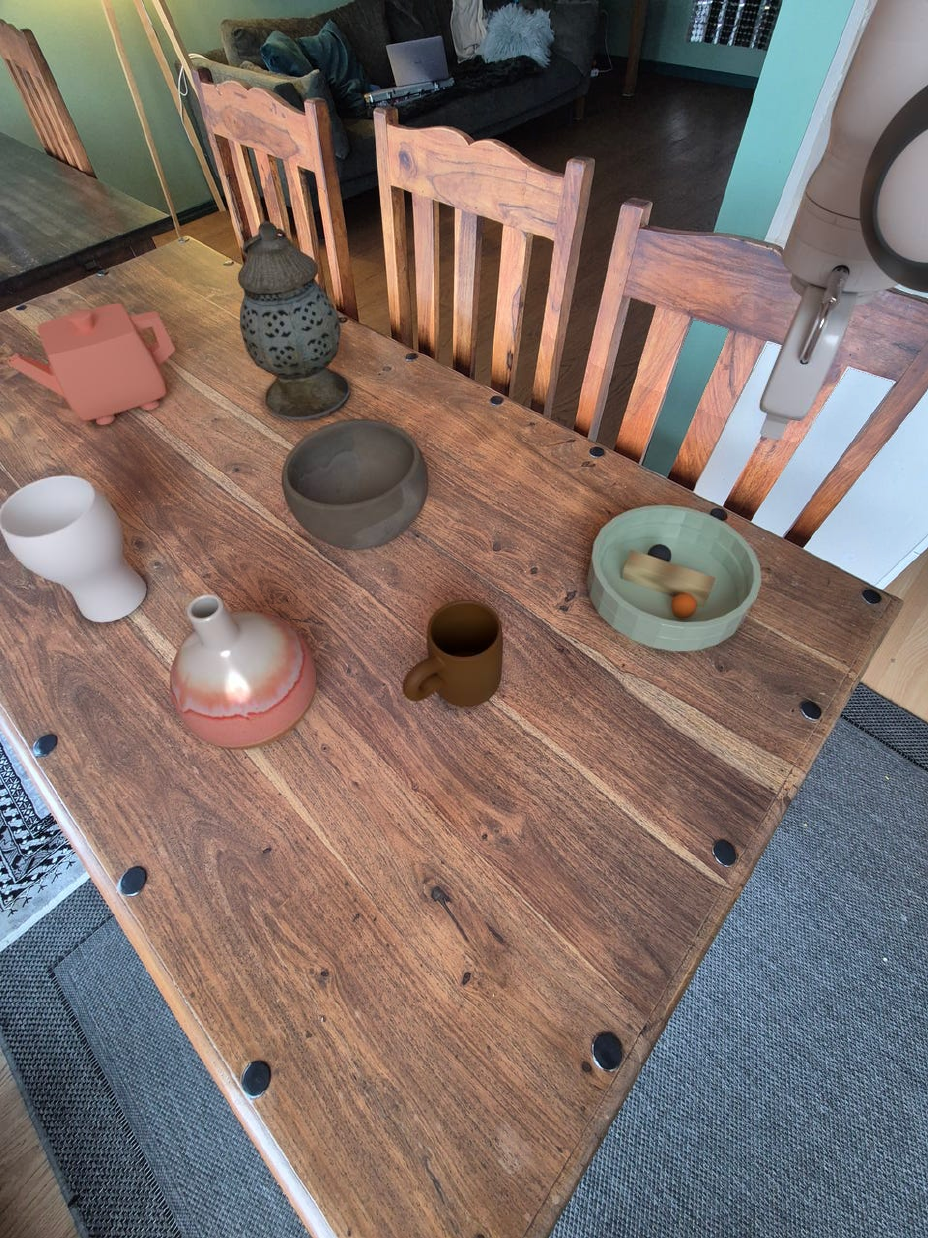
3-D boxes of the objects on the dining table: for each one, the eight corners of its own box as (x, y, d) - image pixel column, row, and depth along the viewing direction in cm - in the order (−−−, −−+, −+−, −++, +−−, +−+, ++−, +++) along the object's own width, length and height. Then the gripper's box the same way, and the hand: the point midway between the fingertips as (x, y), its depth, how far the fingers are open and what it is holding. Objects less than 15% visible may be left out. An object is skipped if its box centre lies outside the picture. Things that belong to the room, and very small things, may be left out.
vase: (312, 640, 73) (271, 530, 59) (340, 743, 65) (300, 644, 51) (189, 677, 70) (116, 571, 56) (204, 788, 62) (123, 698, 48)
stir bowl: (761, 563, 78) (776, 534, 74) (723, 679, 69) (738, 653, 65) (617, 516, 84) (623, 487, 80) (562, 617, 74) (567, 589, 70)
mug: (437, 752, 64) (430, 706, 57) (386, 706, 68) (374, 657, 60) (515, 678, 69) (519, 626, 62) (465, 638, 73) (463, 585, 65)
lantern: (255, 421, 98) (197, 248, 78) (271, 370, 107) (223, 201, 87) (346, 419, 98) (311, 245, 78) (355, 367, 106) (325, 198, 87)
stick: (708, 592, 75) (715, 577, 73) (703, 607, 74) (710, 591, 72) (627, 565, 78) (631, 549, 76) (620, 578, 77) (624, 562, 74)
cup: (72, 574, 80) (0, 481, 68) (160, 557, 81) (104, 463, 69) (62, 641, 74) (-19, 551, 62) (157, 621, 75) (96, 530, 63)
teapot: (54, 446, 96) (-3, 358, 84) (41, 403, 102) (-14, 317, 91) (198, 399, 102) (163, 312, 91) (177, 362, 109) (142, 277, 97)
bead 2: (684, 589, 74) (705, 602, 72) (671, 609, 74) (691, 623, 73) (676, 587, 71) (697, 601, 70) (662, 608, 72) (683, 622, 71)
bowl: (272, 517, 85) (251, 456, 77) (379, 458, 92) (369, 398, 84) (346, 591, 77) (330, 532, 69) (457, 521, 84) (454, 460, 76)
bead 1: (664, 574, 77) (680, 556, 77) (654, 567, 75) (670, 548, 75) (648, 562, 79) (663, 544, 78) (638, 555, 77) (653, 536, 76)
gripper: (881, 316, 41) (795, 483, 52) (912, 197, 51) (836, 357, 62) (778, 295, 42) (717, 461, 53) (829, 185, 53) (769, 342, 64)
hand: (781, 404), depth 58 cm, fingers open, 8 cm apart
